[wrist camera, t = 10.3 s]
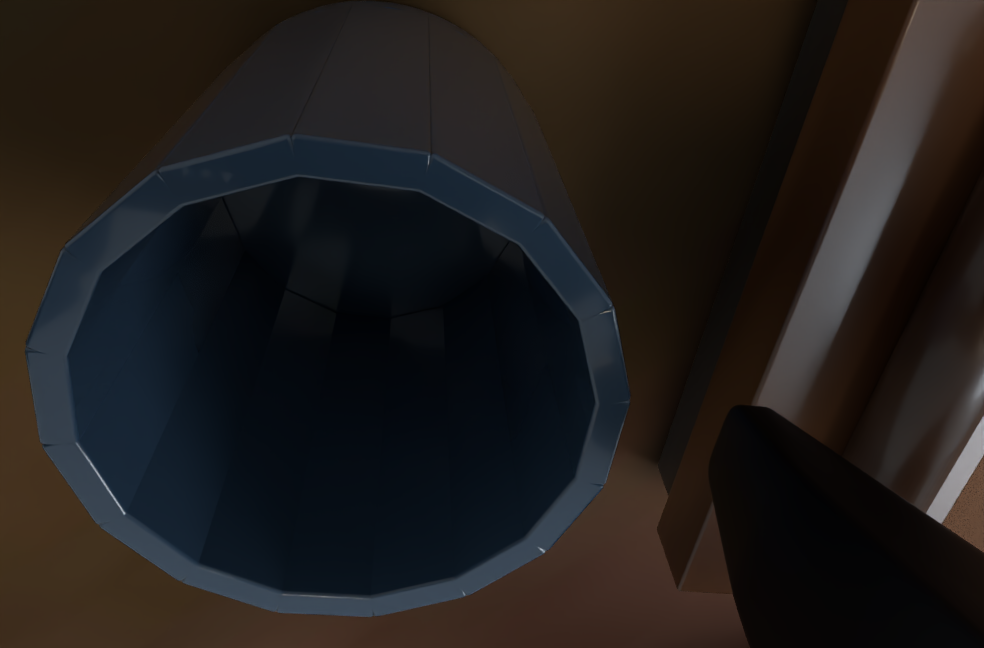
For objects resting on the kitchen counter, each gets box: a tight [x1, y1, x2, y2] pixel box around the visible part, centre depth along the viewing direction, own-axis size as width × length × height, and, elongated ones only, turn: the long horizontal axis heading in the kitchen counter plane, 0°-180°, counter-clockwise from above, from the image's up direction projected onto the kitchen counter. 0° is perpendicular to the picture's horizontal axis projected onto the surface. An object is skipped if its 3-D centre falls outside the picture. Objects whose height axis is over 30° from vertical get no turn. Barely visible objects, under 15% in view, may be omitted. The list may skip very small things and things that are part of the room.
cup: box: [25, 0, 631, 617], centre depth 12 cm, size 6×6×8 cm
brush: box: [657, 0, 984, 594], centre depth 14 cm, size 14×5×5 cm, turn 171°
